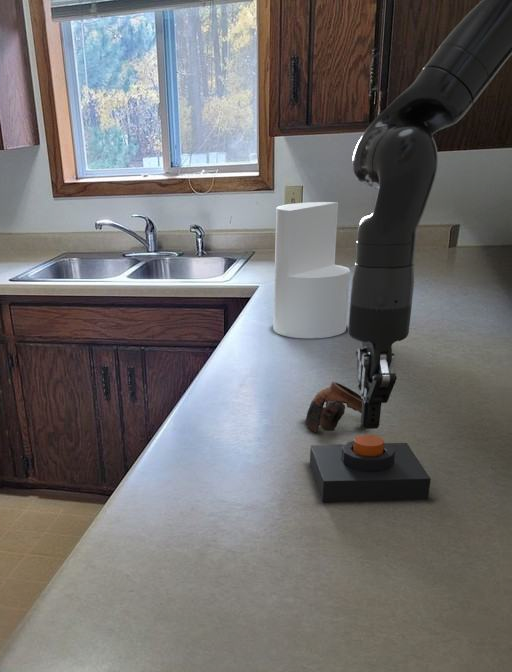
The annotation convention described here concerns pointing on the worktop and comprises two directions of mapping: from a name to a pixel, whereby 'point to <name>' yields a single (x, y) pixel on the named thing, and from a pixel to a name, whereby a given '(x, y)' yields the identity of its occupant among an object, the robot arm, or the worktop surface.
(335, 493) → the push button base
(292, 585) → the worktop surface
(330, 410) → the broken clay vessel
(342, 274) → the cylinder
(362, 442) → the power button
